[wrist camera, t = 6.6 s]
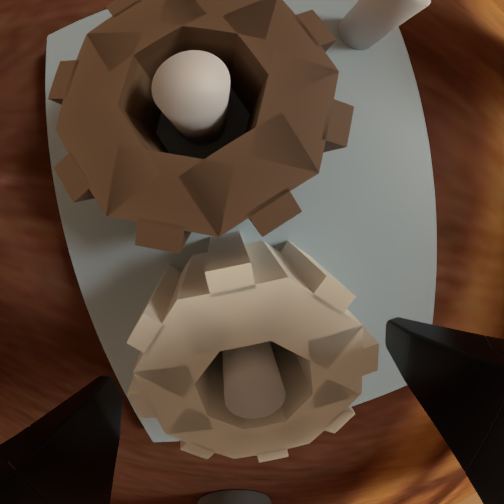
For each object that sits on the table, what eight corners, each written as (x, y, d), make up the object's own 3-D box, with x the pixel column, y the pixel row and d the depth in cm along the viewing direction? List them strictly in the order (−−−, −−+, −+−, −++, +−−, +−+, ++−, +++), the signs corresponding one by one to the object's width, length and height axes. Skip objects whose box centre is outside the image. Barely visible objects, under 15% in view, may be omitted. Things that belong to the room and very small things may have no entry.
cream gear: (335, 370, 12) (370, 431, 8) (182, 402, 12) (175, 471, 8) (321, 214, 10) (377, 236, 6) (129, 253, 10) (83, 295, 6)
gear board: (413, 366, 14) (464, 422, 9) (156, 426, 13) (142, 505, 8) (372, 1, 9) (430, -51, 4) (59, 44, 8) (-4, -2, 3)
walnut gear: (339, 156, 10) (402, 147, 6) (174, 262, 10) (149, 311, 6) (235, 9, 8) (244, -57, 4) (76, 109, 8) (14, 82, 4)
